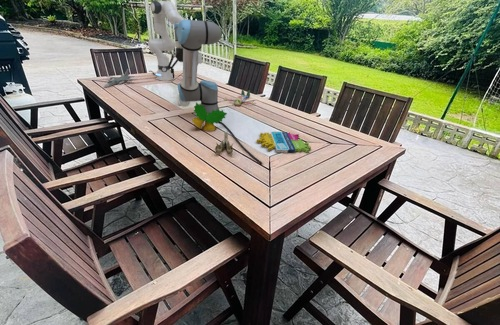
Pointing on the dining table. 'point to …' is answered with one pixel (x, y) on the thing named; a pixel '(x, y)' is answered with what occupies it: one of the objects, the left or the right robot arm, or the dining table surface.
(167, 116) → the dining table surface
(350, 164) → the dining table surface
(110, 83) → the airplane
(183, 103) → the beam
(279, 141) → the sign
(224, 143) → the jawbone
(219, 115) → the ornament
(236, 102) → the toy
